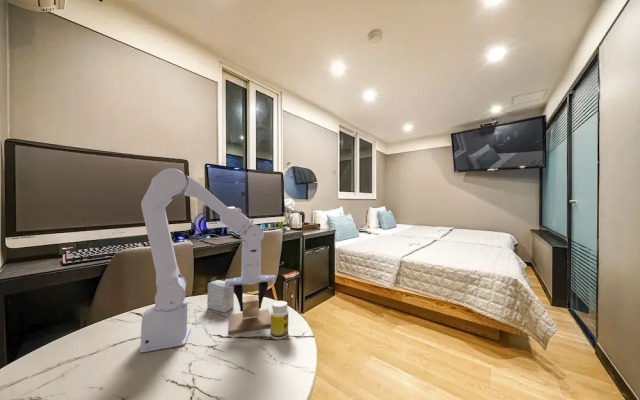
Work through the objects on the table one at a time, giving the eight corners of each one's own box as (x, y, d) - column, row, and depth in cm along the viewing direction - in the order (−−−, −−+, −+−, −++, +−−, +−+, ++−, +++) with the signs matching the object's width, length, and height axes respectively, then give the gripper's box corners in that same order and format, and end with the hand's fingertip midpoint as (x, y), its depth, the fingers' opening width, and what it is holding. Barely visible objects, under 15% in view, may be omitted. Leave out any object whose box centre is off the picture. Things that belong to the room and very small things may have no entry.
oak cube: (242, 318, 66) (243, 302, 66) (242, 311, 70) (242, 296, 70) (258, 315, 68) (259, 300, 68) (257, 309, 72) (257, 294, 72)
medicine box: (234, 308, 78) (234, 282, 79) (223, 313, 74) (224, 286, 74) (217, 303, 82) (218, 279, 82) (206, 308, 78) (207, 282, 78)
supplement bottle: (286, 340, 59) (286, 307, 60) (268, 339, 60) (269, 307, 60) (289, 330, 64) (289, 300, 65) (272, 330, 64) (273, 299, 65)
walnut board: (228, 334, 62) (228, 331, 62) (229, 317, 71) (229, 314, 71) (272, 326, 66) (272, 323, 66) (268, 311, 76) (268, 309, 76)
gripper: (224, 268, 63) (223, 318, 63) (277, 264, 68) (276, 310, 68) (225, 262, 70) (224, 307, 69) (273, 259, 75) (273, 301, 74)
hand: (250, 308), depth 69 cm, fingers closed on oak cube, 4 cm apart
